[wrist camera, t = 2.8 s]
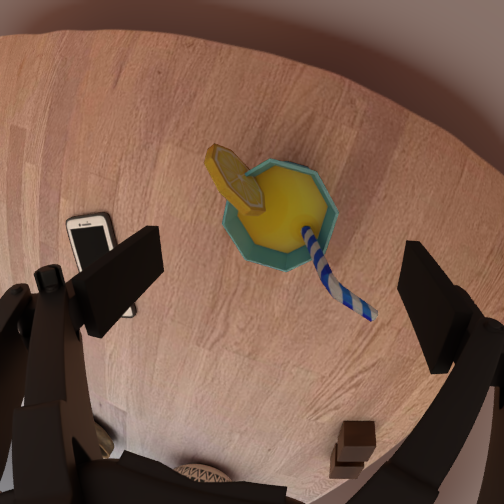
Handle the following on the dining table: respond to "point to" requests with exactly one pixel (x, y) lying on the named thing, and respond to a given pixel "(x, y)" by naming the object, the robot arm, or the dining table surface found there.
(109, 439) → the bowl
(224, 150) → the cup
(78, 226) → the cell phone
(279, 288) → the dining table surface
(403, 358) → the dining table surface
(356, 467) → the walnut block far
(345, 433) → the walnut block near
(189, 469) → the planter
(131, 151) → the dining table surface
